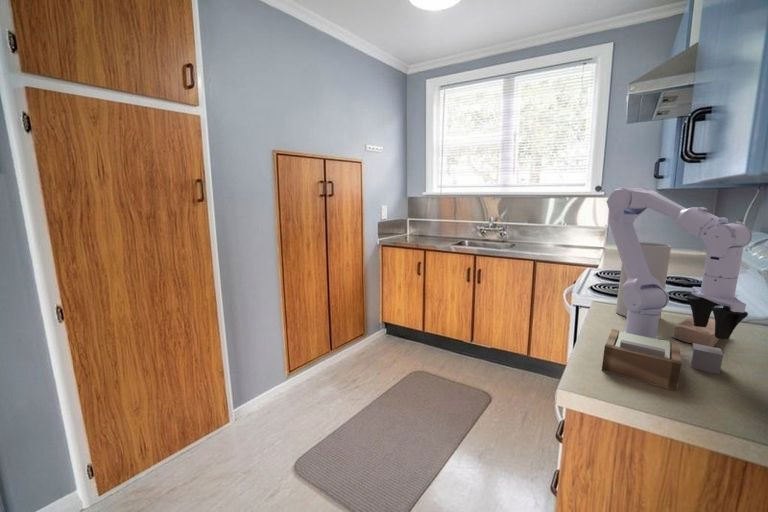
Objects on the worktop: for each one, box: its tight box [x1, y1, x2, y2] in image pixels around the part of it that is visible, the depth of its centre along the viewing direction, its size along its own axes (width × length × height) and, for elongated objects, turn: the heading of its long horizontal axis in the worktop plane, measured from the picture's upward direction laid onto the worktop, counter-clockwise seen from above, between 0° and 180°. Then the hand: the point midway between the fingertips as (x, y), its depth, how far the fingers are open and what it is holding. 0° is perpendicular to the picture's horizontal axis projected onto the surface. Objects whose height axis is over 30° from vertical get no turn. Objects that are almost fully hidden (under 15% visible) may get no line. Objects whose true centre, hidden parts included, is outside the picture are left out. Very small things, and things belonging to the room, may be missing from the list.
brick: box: [673, 315, 720, 347], centre depth 100 cm, size 17×8×5 cm, turn 127°
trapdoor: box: [615, 331, 671, 359], centre depth 81 cm, size 12×10×2 cm
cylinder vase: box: [615, 241, 672, 320], centre depth 117 cm, size 12×12×25 cm
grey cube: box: [689, 343, 724, 375], centre depth 82 cm, size 4×5×5 cm
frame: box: [601, 328, 682, 392], centre depth 81 cm, size 14×14×6 cm
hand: (710, 332), depth 81 cm, fingers open, 7 cm apart
